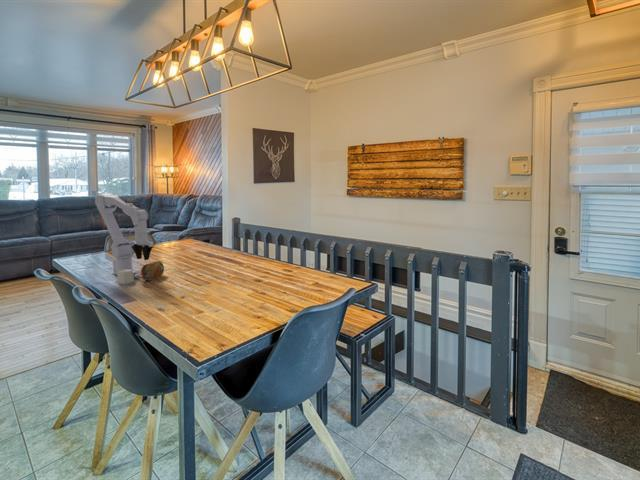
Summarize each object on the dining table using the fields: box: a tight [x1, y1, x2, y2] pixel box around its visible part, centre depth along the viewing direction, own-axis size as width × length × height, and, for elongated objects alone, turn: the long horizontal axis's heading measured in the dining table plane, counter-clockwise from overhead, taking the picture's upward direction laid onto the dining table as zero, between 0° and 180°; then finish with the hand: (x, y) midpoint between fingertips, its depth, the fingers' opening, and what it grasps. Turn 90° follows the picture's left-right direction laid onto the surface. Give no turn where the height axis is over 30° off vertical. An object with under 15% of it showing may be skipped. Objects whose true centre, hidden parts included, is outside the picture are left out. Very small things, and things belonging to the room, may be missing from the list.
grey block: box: [116, 269, 135, 285], centre depth 177 cm, size 5×5×6 cm
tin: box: [140, 260, 165, 281], centre depth 184 cm, size 15×3×8 cm, turn 168°
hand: (143, 259), depth 186 cm, fingers open, 5 cm apart
